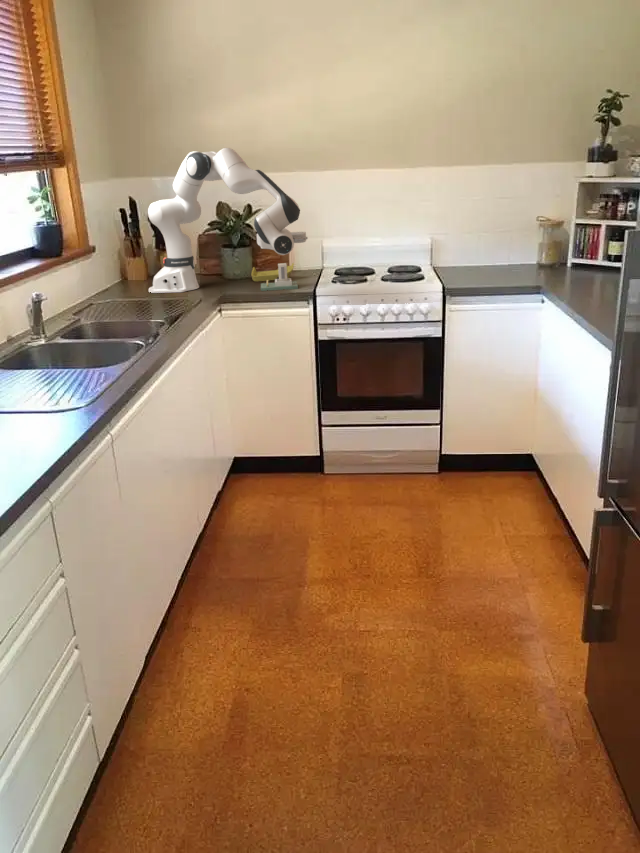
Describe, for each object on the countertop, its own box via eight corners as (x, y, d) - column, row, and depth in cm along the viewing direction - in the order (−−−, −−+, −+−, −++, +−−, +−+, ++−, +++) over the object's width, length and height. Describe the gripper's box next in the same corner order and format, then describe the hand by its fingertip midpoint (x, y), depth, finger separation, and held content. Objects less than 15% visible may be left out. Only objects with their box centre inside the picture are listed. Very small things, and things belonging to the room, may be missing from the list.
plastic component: (250, 277, 339) (253, 264, 346) (254, 290, 345) (257, 277, 351) (292, 273, 336) (294, 260, 343) (295, 286, 341) (297, 273, 348)
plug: (279, 285, 320) (278, 264, 317) (279, 284, 324) (277, 263, 321) (287, 285, 320) (286, 264, 317) (287, 283, 324) (286, 263, 321)
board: (261, 290, 317) (260, 283, 316) (260, 286, 328) (260, 278, 327) (297, 288, 318) (297, 281, 317) (296, 284, 329) (296, 276, 328)
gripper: (307, 230, 290) (305, 226, 303) (256, 232, 289) (256, 228, 302) (308, 246, 292) (306, 242, 305) (257, 248, 291) (257, 244, 304)
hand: (280, 235), depth 303 cm, fingers open, 8 cm apart
